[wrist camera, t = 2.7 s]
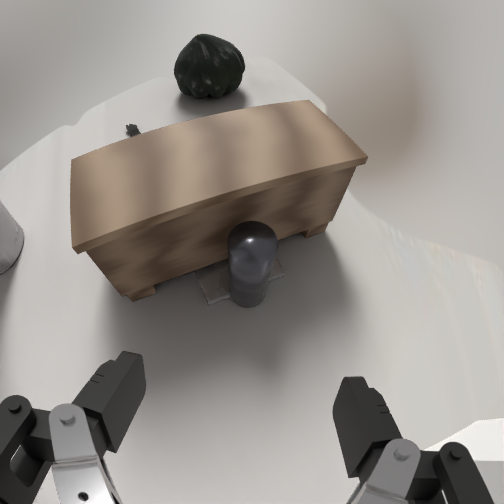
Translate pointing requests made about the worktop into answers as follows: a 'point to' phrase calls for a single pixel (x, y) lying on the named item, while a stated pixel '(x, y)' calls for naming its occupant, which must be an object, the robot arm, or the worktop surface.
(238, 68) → the squash
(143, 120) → the worktop surface
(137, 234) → the cabinet
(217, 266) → the joystick
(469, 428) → the milk
